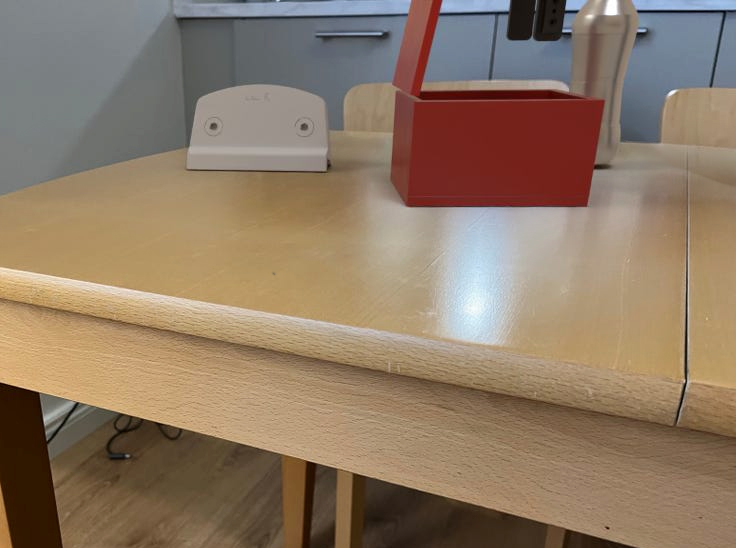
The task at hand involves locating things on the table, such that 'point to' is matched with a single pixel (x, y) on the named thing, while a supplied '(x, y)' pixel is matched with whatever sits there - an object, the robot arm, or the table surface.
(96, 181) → the table surface
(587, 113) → the open red box
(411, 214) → the table surface
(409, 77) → the box door
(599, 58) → the silver metal bottle
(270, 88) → the white curved plastic bracket
